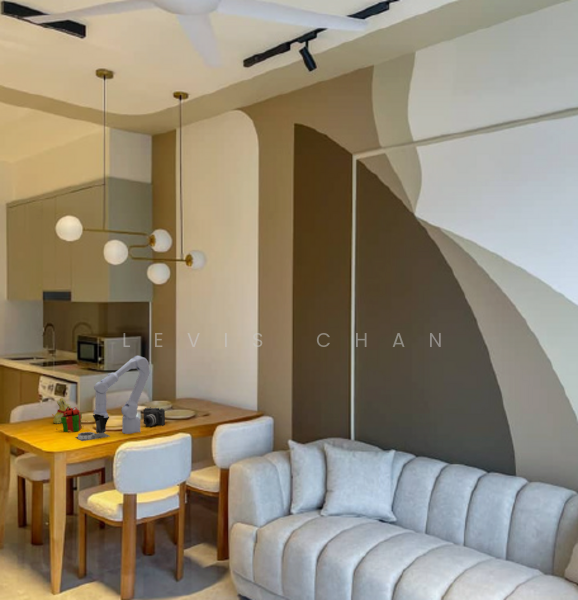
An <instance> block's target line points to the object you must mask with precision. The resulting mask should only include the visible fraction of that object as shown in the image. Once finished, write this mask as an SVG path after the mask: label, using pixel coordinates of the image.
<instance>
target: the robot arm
mask: <svg viewBox="0 0 578 600" xmlns="http://www.w3.org/2000/svg"><path fill="white" fill-rule="evenodd" d="M149 365H150V363H149V360H147V358H146V357H143V356H141V355H134V356H133V357H132V358H130V359H129V360H128V361H127V362H125V364H123V365H122V366H121V367H120V368H119V369H117V370H116V371H115V372H111V373H110V372H109V373H107V375H106V376H105V377H104V378H103V379H100V381H97V382H96V383H95V384H94V386H93V388H94V391H95V399H94V401H95V402H94V403H95V405H94V406H95V409H93V413H92V417H93V419H94V421H95V423H96V421H98V420H99V421H100V427H101V430H103V429H105V427H106V426H107V423H108V420H109V419H110V416H109V413H108V411H107V391H108V390H109V389H110V388H111V387H112V386H113V385H114V384H116V383H117V382H118V381H119V378H120V377H121V376H123V375H124V374H126V373H127V372H128V371H130V370H135V369H136V370H137V372H138V373H139V374H138V377H137V379H136V382H135V383H134V387H133V389H132V390H131V393H130V396H129V398H128V400H127V401H126V402H125V404H124V405H123V406H122V407H121V414H122V419H121V420H122V425H121V426H122V430H121V431H122V433H123V434H126V435H127V434H128V435H129V434H134V433H142V432H141V419H140V417H139V416H137V414H138V412H137V411H138V407H139V406H138V402H139V401H140V398H141V395H142V393H143V391H144V389H145V386H146V383H147V380H148V378H149V377H150V366H149ZM106 428H107V427H106Z"/></svg>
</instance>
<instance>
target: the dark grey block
mask: <svg viewBox="0 0 578 600" xmlns="http://www.w3.org/2000/svg"><path fill="white" fill-rule="evenodd" d="M106 429H107V427H105V429H103V430H101V427H100V421H99V420H98V421H96V422H95V432H96V433H95V434H97V433H106Z"/></svg>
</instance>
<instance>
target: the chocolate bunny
mask: <svg viewBox="0 0 578 600" xmlns="http://www.w3.org/2000/svg"><path fill="white" fill-rule="evenodd" d="M56 403H57V406H58V409H57V410H56V411H57V412H56V413H55V414H54V416H53V419H52V422H53V424H56V425H57V424H63V423H62V422H61V417H62V416H64V415H63V413H64V412H65V410H66V408H68V409H69V408H72V406H71V405H70V404H69V403H67V401H66V400H65V398H64V397H60V398H59V399H58V400H57V401H56Z"/></svg>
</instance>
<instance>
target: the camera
mask: <svg viewBox="0 0 578 600" xmlns="http://www.w3.org/2000/svg"><path fill="white" fill-rule="evenodd" d="M142 411H143V424H144V425H145V426H146V427H153V426H155V425H156V426H165V425H166V415H165V414H166V413H165V412H166V411H165V409H164V408H159V407H154V408H153V407H151V406H149V407H144V409H143V410H142Z"/></svg>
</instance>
